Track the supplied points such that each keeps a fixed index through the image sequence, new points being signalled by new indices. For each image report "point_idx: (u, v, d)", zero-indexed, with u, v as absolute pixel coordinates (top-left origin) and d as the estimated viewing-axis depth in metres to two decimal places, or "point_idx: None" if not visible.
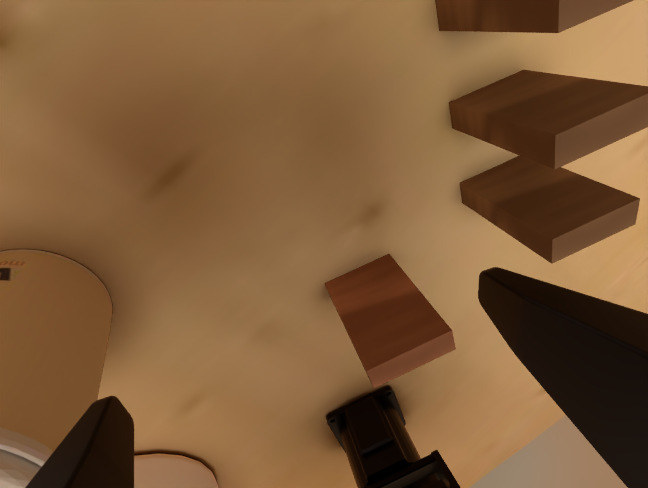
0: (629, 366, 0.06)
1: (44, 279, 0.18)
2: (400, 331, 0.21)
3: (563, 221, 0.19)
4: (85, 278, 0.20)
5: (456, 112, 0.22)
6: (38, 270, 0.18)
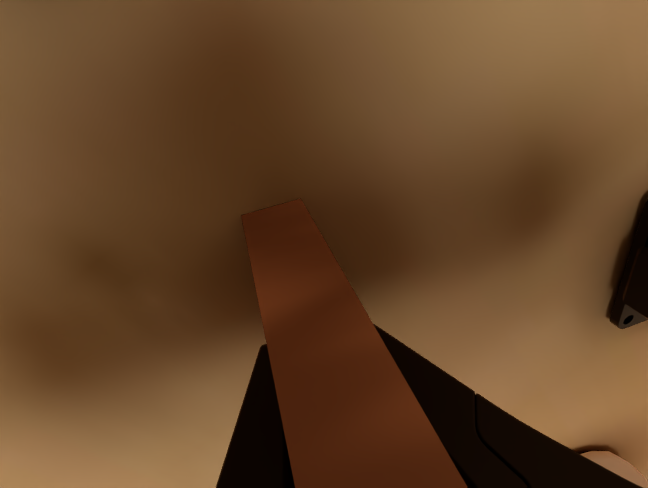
0: None
1: None
2: None
3: None
4: None
5: None
6: None
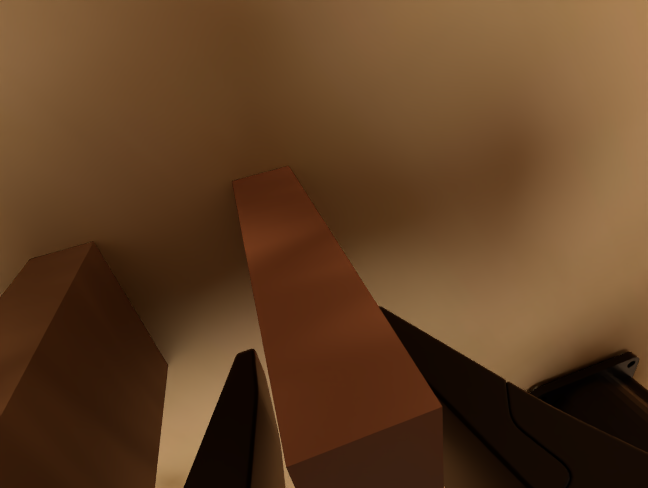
0: (460, 433, 0.06)
1: None
2: None
3: None
4: None
5: None
6: None
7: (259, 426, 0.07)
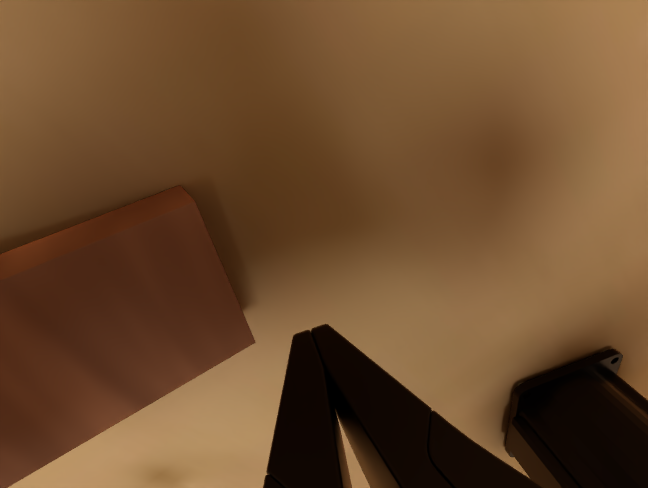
0: (381, 465, 0.06)
1: None
2: None
3: None
4: None
5: None
6: None
7: (330, 400, 0.07)
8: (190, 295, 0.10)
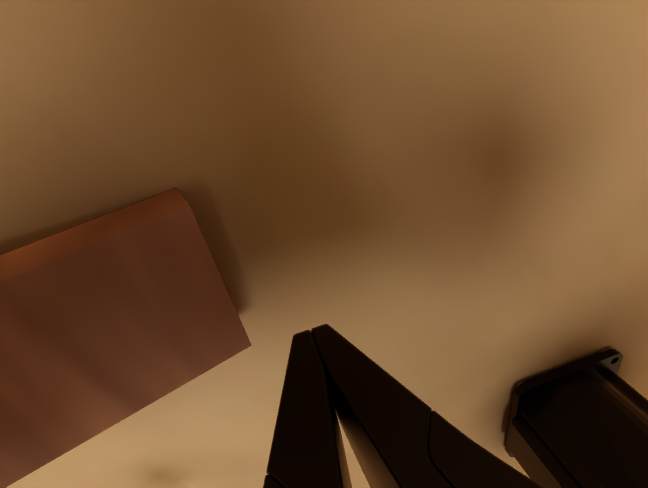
0: (381, 465, 0.06)
1: None
2: None
3: None
4: None
5: None
6: None
7: (330, 400, 0.07)
8: (185, 299, 0.10)
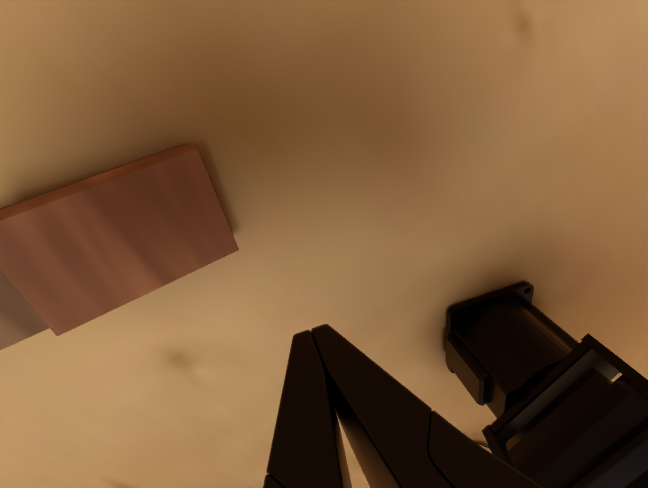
0: (381, 465, 0.06)
1: None
2: None
3: None
4: None
5: None
6: None
7: (330, 401, 0.07)
8: (195, 210, 0.16)
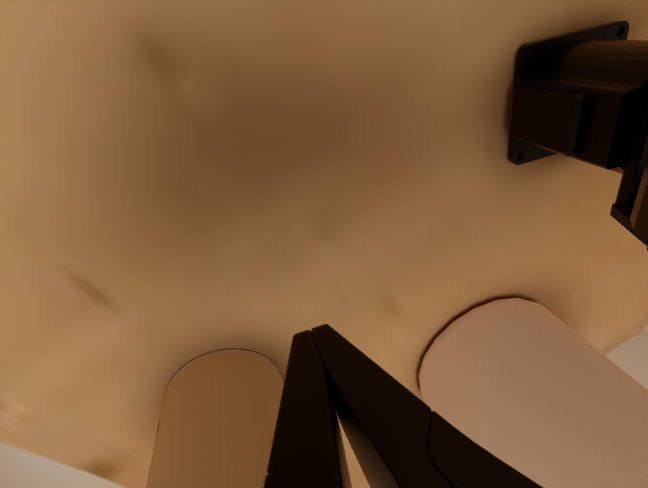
0: (381, 465, 0.06)
1: (170, 406, 0.21)
2: None
3: None
4: (194, 369, 0.23)
5: None
6: (166, 403, 0.22)
7: (330, 401, 0.07)
8: None
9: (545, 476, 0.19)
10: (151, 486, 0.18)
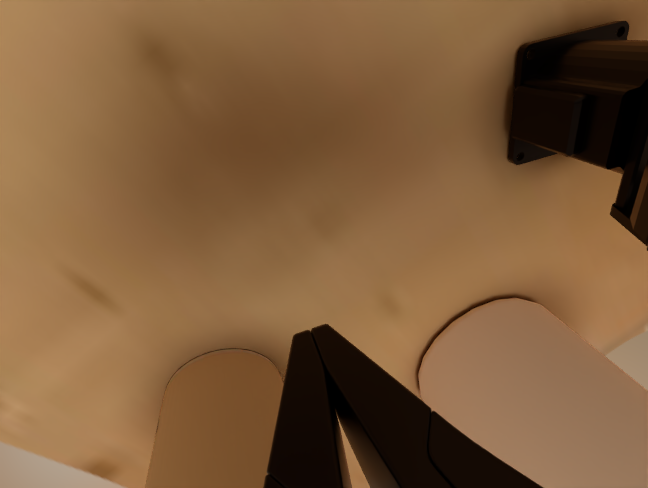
0: (381, 465, 0.06)
1: (169, 406, 0.21)
2: None
3: None
4: (193, 369, 0.23)
5: None
6: (166, 403, 0.22)
7: (330, 401, 0.07)
8: None
9: (544, 476, 0.19)
10: (150, 486, 0.18)
